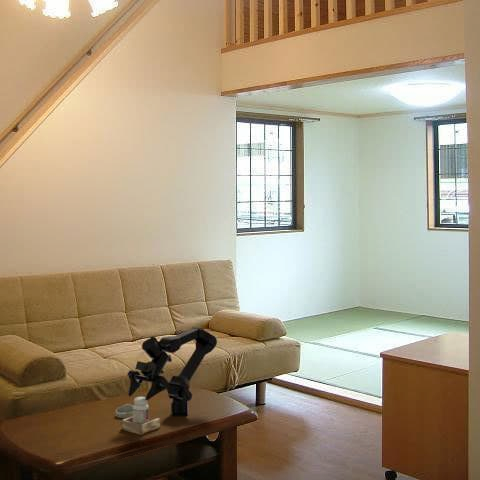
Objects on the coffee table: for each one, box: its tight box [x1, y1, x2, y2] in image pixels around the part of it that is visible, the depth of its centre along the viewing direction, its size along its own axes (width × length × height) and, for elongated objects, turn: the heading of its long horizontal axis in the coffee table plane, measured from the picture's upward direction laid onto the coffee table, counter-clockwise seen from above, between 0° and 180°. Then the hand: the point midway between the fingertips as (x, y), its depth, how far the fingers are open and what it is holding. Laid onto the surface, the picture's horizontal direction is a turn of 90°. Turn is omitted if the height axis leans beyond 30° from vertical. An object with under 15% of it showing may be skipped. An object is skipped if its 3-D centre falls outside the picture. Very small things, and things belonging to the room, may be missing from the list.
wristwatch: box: [115, 403, 134, 419], centre depth 281 cm, size 9×6×5 cm
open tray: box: [120, 416, 161, 436], centre depth 265 cm, size 11×11×4 cm
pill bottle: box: [133, 396, 150, 425], centre depth 265 cm, size 6×6×11 cm
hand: (137, 397), depth 264 cm, fingers open, 9 cm apart
